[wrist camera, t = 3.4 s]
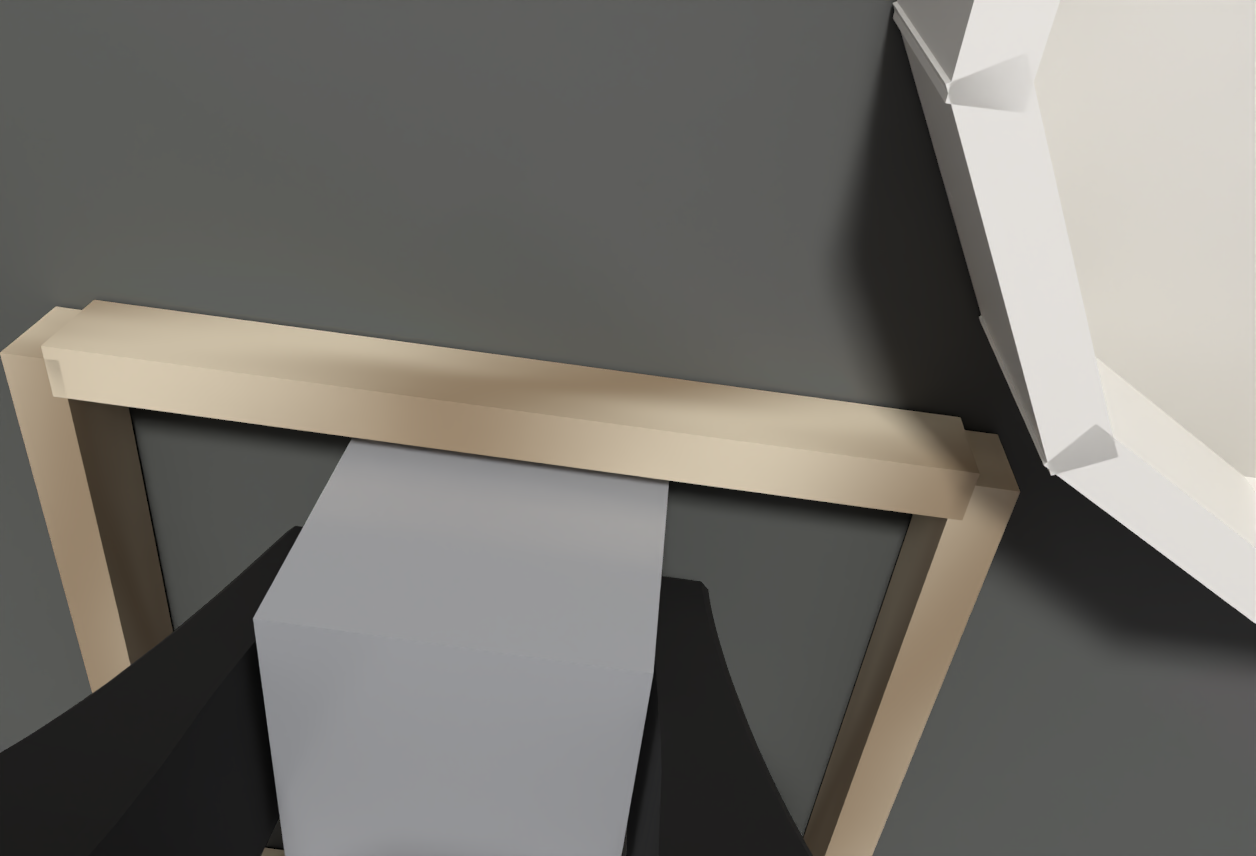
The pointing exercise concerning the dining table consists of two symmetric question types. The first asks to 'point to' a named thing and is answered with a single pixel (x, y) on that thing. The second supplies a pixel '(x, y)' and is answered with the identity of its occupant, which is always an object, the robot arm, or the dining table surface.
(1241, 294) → the bowl
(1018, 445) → the dining table surface
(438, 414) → the parts frame
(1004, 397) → the dining table surface
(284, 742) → the matte grey cube
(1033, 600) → the dining table surface
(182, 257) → the dining table surface
